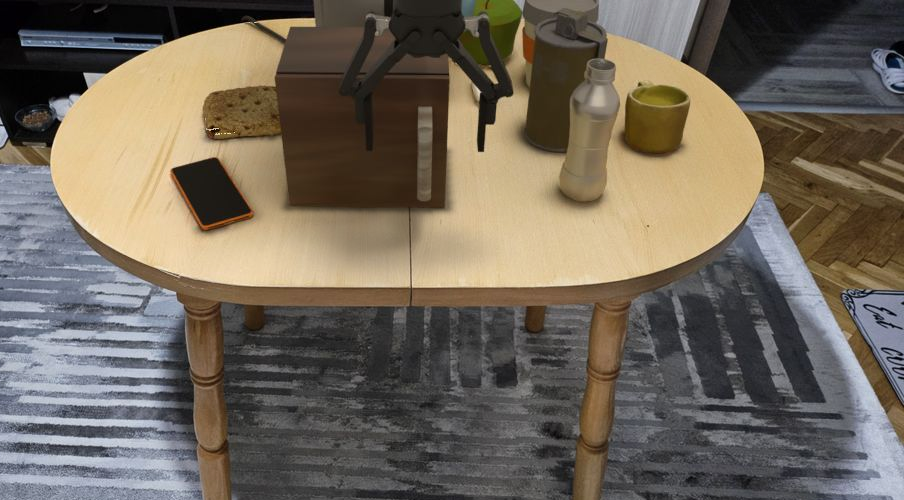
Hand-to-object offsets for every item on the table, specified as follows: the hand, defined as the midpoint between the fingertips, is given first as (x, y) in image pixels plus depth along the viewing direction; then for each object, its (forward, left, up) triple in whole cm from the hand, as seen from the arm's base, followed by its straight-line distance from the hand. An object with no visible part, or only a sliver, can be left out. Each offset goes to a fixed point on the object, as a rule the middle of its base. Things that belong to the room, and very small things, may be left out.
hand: (425, 146), depth 99 cm
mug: (+15, +42, -15) cm, 47 cm away
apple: (-21, +52, -15) cm, 58 cm away
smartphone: (-31, -9, -14) cm, 35 cm away
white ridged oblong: (-14, +39, -15) cm, 44 cm away
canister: (+3, +34, -15) cm, 37 cm away
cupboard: (-15, +8, -14) cm, 22 cm away
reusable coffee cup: (-6, +50, -15) cm, 53 cm away
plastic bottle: (+13, +21, -15) cm, 29 cm away
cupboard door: (-9, -1, -14) cm, 17 cm away
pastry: (-42, +11, -15) cm, 46 cm away
